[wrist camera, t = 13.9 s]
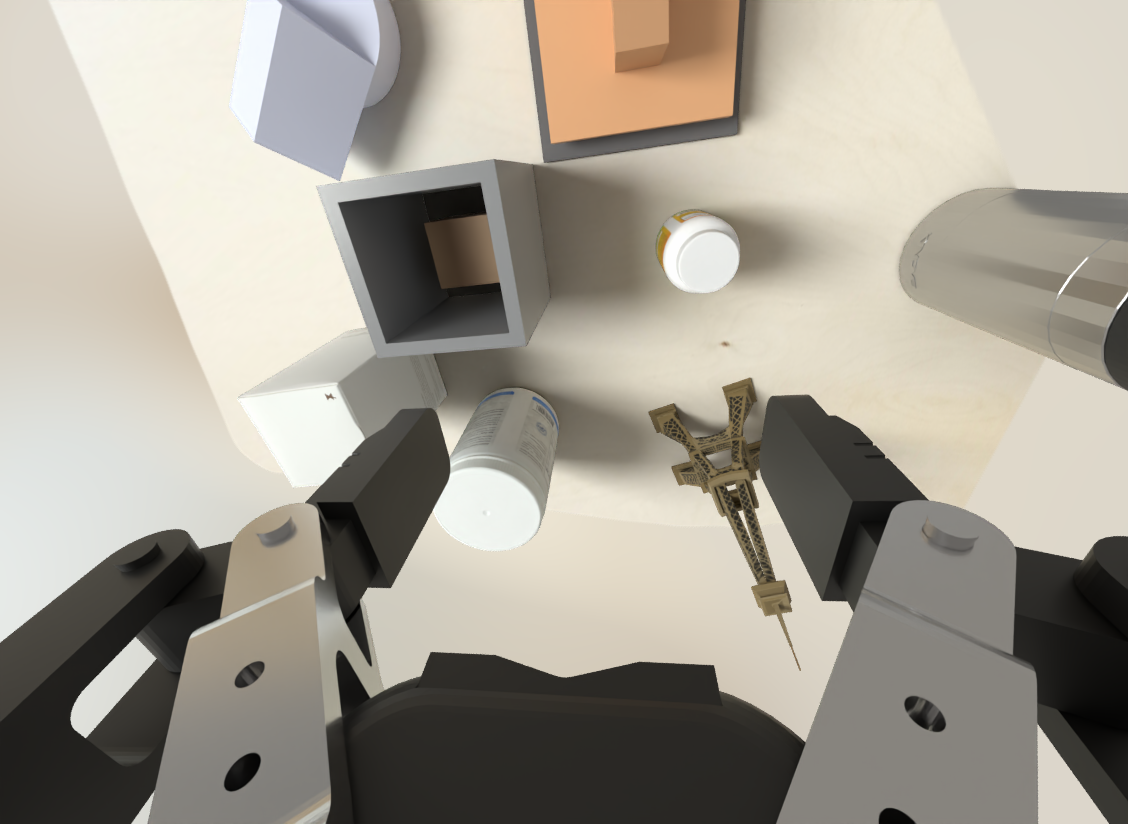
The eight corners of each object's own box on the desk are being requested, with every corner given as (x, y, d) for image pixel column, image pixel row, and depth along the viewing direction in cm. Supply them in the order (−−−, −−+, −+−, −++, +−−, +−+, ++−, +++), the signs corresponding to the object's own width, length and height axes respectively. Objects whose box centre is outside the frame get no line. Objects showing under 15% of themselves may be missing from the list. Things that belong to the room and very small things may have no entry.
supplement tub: (475, 448, 50) (427, 542, 37) (478, 376, 45) (425, 456, 32) (555, 462, 49) (535, 563, 37) (567, 392, 45) (549, 479, 32)
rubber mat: (754, -164, 25) (756, -169, 25) (735, 134, 32) (736, 134, 32) (511, -104, 27) (510, -108, 27) (544, 162, 34) (543, 162, 34)
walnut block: (504, 208, 36) (486, 214, 31) (514, 267, 39) (499, 282, 34) (450, 216, 37) (423, 223, 32) (463, 273, 40) (441, 289, 34)
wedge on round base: (361, 180, 36) (419, 10, 30) (313, 181, 31) (373, -28, 25) (261, 112, 35) (301, -83, 29) (190, 99, 29) (222, -148, 23)
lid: (738, -141, 25) (784, -258, 18) (724, 119, 31) (755, 103, 25) (528, -91, 27) (499, -179, 20) (554, 145, 33) (539, 138, 27)
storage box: (532, 164, 34) (493, 159, 23) (550, 297, 40) (526, 345, 29) (408, 182, 36) (316, 186, 25) (441, 308, 41) (377, 358, 30)
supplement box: (343, 329, 44) (229, 394, 31) (422, 317, 42) (338, 380, 29) (376, 405, 48) (289, 490, 35) (449, 396, 46) (386, 482, 33)
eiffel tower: (772, 457, 46) (912, 707, 25) (678, 483, 49) (730, 726, 28) (749, 377, 42) (895, 594, 20) (648, 411, 45) (681, 631, 23)
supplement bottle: (681, 287, 38) (700, 319, 30) (642, 243, 37) (651, 264, 28) (732, 243, 36) (768, 263, 28) (692, 193, 34) (718, 200, 26)
